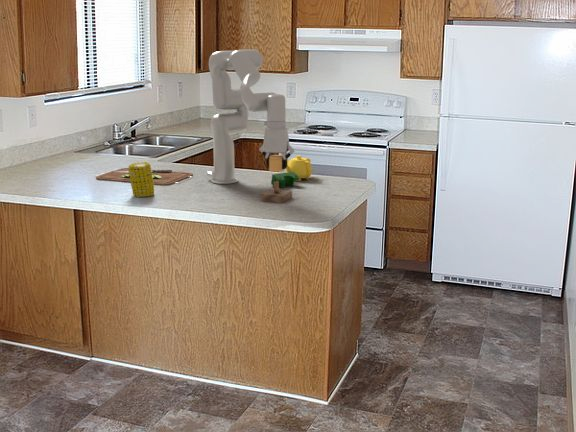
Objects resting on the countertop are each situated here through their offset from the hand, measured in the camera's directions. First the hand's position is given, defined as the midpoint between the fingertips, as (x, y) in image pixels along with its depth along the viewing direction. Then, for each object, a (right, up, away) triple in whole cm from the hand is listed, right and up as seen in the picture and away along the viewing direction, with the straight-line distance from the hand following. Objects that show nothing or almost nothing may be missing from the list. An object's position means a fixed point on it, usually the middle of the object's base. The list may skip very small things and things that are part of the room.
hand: (276, 167), depth 314 cm
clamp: (+3, -7, +28) cm, 29 cm away
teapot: (+9, -3, +44) cm, 45 cm away
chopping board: (-64, -2, +48) cm, 80 cm away
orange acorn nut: (0, -1, 0) cm, 1 cm away
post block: (0, -13, +4) cm, 14 cm away
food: (-58, -12, +10) cm, 60 cm away
